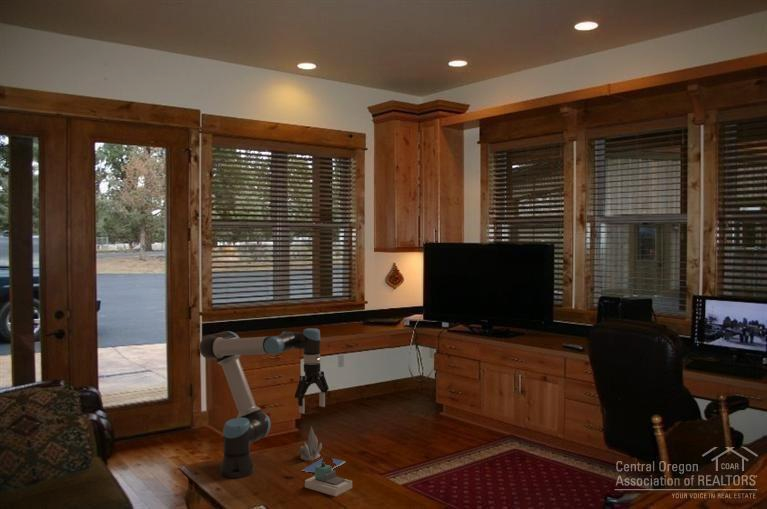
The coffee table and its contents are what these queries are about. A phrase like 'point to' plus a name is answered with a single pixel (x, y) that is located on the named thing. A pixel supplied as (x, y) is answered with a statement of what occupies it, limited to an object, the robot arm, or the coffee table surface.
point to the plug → (322, 471)
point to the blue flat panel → (312, 467)
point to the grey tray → (328, 486)
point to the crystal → (311, 447)
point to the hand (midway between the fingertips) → (312, 409)
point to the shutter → (332, 478)
